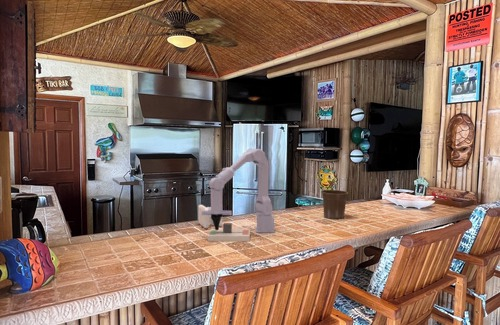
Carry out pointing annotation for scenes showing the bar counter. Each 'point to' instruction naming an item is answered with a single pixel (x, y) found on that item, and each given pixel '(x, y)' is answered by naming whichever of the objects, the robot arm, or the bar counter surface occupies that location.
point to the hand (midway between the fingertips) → (216, 229)
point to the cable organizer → (205, 217)
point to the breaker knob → (227, 227)
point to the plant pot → (334, 203)
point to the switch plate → (229, 235)
